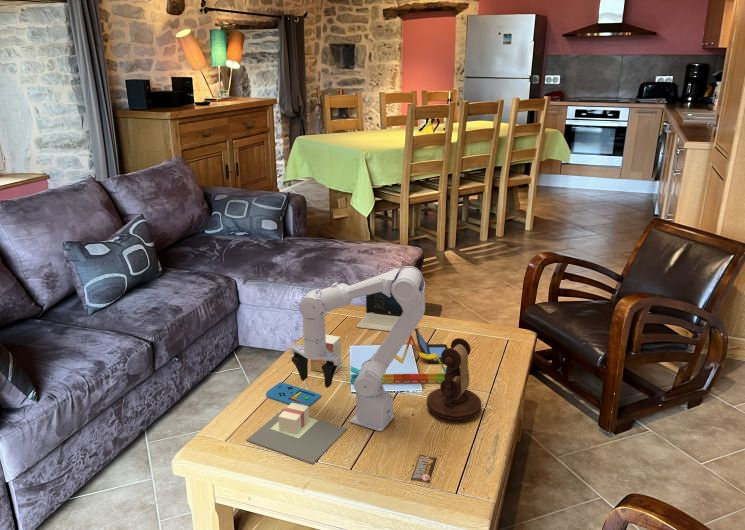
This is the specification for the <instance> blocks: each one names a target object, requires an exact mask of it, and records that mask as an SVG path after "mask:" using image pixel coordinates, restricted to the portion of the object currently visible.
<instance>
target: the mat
mask: <svg viewBox="0 0 745 530" xmlns="http://www.w3.org/2000/svg"><path fill="white" fill-rule="evenodd" d="M285 409H286V408H283V409H281V410H280V411H279V412H278V413H277V414H276V415H274V416H273V417H272V418H271V419H269V420H268V421H267V422H266V423H265V424H264V425H262V426H261V427H260V428H258V429H257V430H256V431H255V432H254V433H253V434H251V435H250V436H249V437H248V438H246V439H245V440H246V442H249V443H252V444H254V445H257V446H260V447H262V448H265V449H268V450H270V451H274V452H276V453H278V454H281V455H284V456H288V457H291V458H293V459H297V460H299V461H302V462H305V463H308V464H310V465H314V464H315V463H316V462H317V461H318V460H319V459H320V458H321V457H322V456H323V455H324V454H325V453H326V452H327V451H328V450H329V449H330V448H331V447H332V446H333V445H334V444H335V443H336V441H338V440H339V439H340V437H341V436H343V434H344V433H345V432H347V430H348V428H347V427H343V426H342V425H341V426H340V425H337V424H334V423H331V422H328V421H325V420H321V419H319V418H315V417H312V416H309V420H308V421H307V422H306V423H305V425H304V426H303V427H302V428H301V429H300V430H299V432H298V433H297V434H295V433H291V432H287V431H282V430H279V415H280V414H281V413H282V412H283V411H284V410H285Z"/></svg>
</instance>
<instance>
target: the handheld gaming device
mask: <svg viewBox="0 0 745 530" xmlns="http://www.w3.org/2000/svg"><path fill="white" fill-rule="evenodd" d="M265 397H266V398H268V399H271V400H273V401H277V402H280V403H282V404H285V405H288V406H289V405H290V404H291V403H296V404H301V405H305V406H308V407H309V408H310V407H311V406H313V405H314V404H315V403H316V402H318V401H319V400H320V399H321V398H322V394H320V393H317V392H315V391H311V390H308V389H305V388H302V387H298V386H295V385H292V384H290V383H286V382H284V381H283V382H282V381H279V382H278V383H276V384H275V385H274V386H273V387H271V388H270V389H268V390H267V391H266V394H265Z"/></svg>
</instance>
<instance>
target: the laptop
mask: <svg viewBox="0 0 745 530" xmlns="http://www.w3.org/2000/svg"><path fill="white" fill-rule="evenodd" d="M365 300H366V301H365V305H366V306H365V311H366V313H365V314H364V315H363V317H362V319H360V321H359V322H358V324H357V325H356V328H359V329H368V330H374V331H375V330H377V331H383V332H390V331H391V329H392V328H393V326H394V325H395V323H396V322H397V320H398V319H399V318H400V316H401V315H402V313H403V310H402V307H401V306H400V304H399V303H398V302H397V301H396V299H395V298H394V296H393V295H391V297H388V296H386V295H385V294H383V293H382V292H378V293H374V294H370V295H366V296H365Z"/></svg>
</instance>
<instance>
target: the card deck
mask: <svg viewBox="0 0 745 530" xmlns="http://www.w3.org/2000/svg"><path fill="white" fill-rule="evenodd" d="M309 408H310V407H308V406H305V405H301V404H296V403H291V404H290V405H288V406H287V407H285V408H284V409H285V410H284V411H283V412H282V413H281V414H280V415H279V430H282V431H287V432H291V433H295V434H297V433H298V432H299V430H300V429H301V428H302V427H303V426H304V425H305V423H306V422H307V421H308V420H309V417H310V411H309V410H310V409H309Z"/></svg>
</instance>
